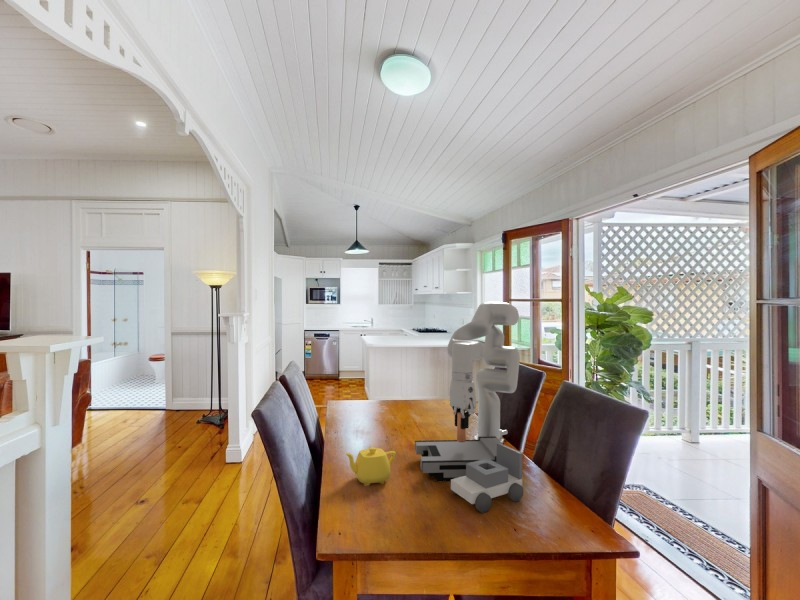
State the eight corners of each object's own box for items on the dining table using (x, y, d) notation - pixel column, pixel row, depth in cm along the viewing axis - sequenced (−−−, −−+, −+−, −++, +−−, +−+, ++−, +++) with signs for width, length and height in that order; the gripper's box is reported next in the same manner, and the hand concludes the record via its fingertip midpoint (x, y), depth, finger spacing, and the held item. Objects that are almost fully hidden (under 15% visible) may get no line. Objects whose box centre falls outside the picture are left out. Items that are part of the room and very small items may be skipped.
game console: (414, 458, 146) (415, 437, 146) (495, 457, 149) (495, 436, 149) (422, 484, 125) (422, 459, 126) (515, 481, 128) (516, 457, 128)
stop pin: (461, 439, 139) (462, 411, 140) (467, 441, 137) (467, 413, 137) (455, 440, 138) (455, 412, 138) (460, 442, 135) (460, 414, 135)
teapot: (347, 492, 119) (348, 457, 119) (340, 477, 129) (341, 445, 129) (401, 483, 125) (401, 451, 125) (390, 469, 135) (390, 439, 135)
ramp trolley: (495, 481, 127) (496, 441, 128) (525, 498, 116) (526, 454, 116) (447, 495, 118) (448, 451, 118) (475, 515, 106) (476, 467, 106)
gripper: (485, 379, 133) (484, 432, 132) (456, 372, 147) (455, 419, 146) (468, 381, 129) (467, 435, 129) (440, 373, 143) (440, 422, 143)
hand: (461, 426), depth 137 cm, fingers closed on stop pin, 2 cm apart
